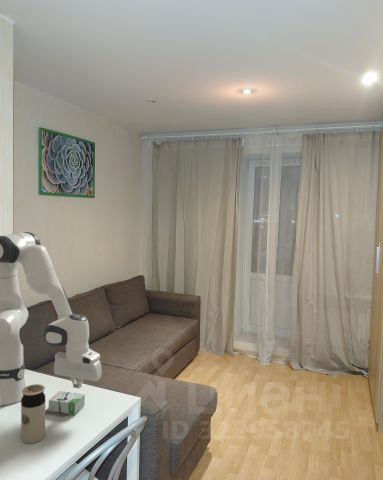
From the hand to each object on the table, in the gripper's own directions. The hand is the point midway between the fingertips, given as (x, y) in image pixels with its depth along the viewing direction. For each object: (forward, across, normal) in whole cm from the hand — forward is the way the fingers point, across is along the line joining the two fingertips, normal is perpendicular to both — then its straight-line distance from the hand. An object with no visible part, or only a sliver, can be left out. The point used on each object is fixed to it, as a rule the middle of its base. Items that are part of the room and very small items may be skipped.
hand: (77, 387), depth 154 cm
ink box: (+7, +2, 0) cm, 7 cm away
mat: (+10, -6, 0) cm, 12 cm away
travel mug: (+10, -5, -21) cm, 23 cm away
